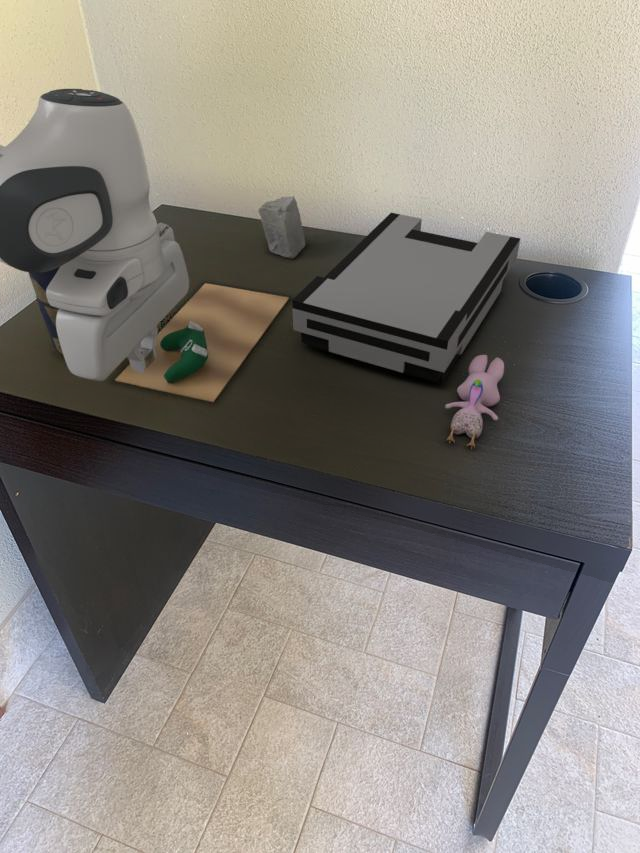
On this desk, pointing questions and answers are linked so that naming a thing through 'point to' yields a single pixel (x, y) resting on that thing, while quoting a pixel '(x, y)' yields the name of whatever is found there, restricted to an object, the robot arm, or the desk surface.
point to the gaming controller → (186, 351)
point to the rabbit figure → (476, 397)
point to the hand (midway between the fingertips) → (144, 364)
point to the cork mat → (211, 340)
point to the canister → (46, 303)
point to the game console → (405, 297)
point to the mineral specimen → (283, 226)
